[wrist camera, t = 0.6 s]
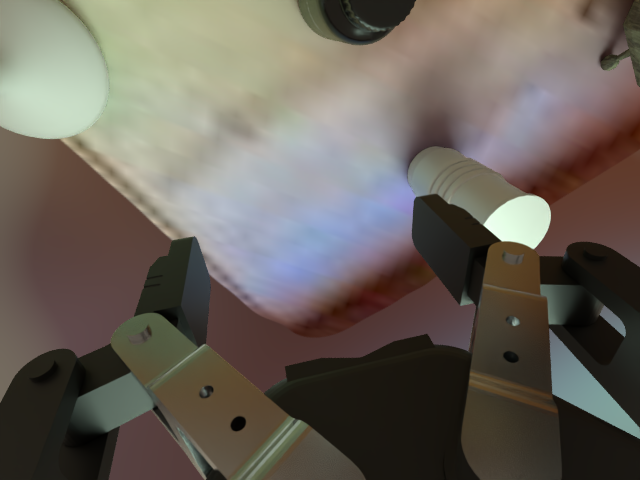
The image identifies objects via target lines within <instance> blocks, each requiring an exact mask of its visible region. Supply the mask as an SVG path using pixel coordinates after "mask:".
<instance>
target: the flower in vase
mask: <svg viewBox="0 0 640 480" xmlns="http://www.w3.org/2000/svg"><path fill="white" fill-rule="evenodd" d="M108 96H109V75H108V69H107V65H106V62H105V59H104V56H103V54H102V51H101V49H100V47H99V45H98V44H97V42H96V40H95V38H94V37H93V35H92V34H91V32H90V31H89V30H88V28H87V27H86V26H85V25H84V23H83V22H82V21H81V20H80V19H79V18H78V17H77V16H76V15H75V14H74V13H73V12H72V11H71V10H70V9H69V8H67V7H66V6H65V5H64V4H63V3H61V2H60V1H59V0H0V126H1V127H3V128H5V129H8V130H10V131H13V132H15V133H19V134H22V135H26V136H31V137H37V138H45V139H59V138H66V137H71V136H74V135H77V134H79V133H81V132H83V131H85V130H87V129H88V128H89V127H91V126H92V125H93V124H94V123H95V122H96V121H97V120H98V119H99V117H100V116H101V115H102V113H103V111H104V109H105V107H106V104H107V101H108Z"/></svg>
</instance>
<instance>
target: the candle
mask: <svg viewBox="0 0 640 480" xmlns="http://www.w3.org/2000/svg"><path fill="white" fill-rule="evenodd" d="M407 178H408V182H409V185H410V186H411V188H412V189H413V192H414V194H415V196H416V197H419V196H424V195H430V194H438V195H439V196H440V197H442V198H443V199H444V200H445V201H446V202H447V203H448V204H454V205H456V206H459V207H461V208H463V209H465V210H466V211H467V212H469V213H470V214H471V215H472V216H473V218H476V219H477V220H478V221H479V222H480V224H482V225H484V226H485V227H486V228H487V229H488V230H489V231H491V232H492V233H493V234H494V235H495V236H496V237H498V238H499V239H500V240H501V241H511V242H517V243H521V244H524V245H527V246H529V247H530V248H532V249H534V248H535V247H536V246H537V245H538V244H539V243H540V241H541V240H542V239H543V237H544V236H545V233H546V232H547V230H548V227H549V224H550V220H551V212H550V208H549V205H548V204H547V203H546V202H545V200H544V199H542V198H540V197H538V196H536V195H534V194H526V193H525V192H523V191H521V190H519V189H518V188H516V187H514V186H512V185H511V184H509V183H507V182H506V181H505V179H504V178H503V177H502V176H501V174H499V173H497V172H495V171H493V170H492V169H490V168H488V167H486V166H484V165H483V164H481V163H479V162H477V161H475V160H473V159H471V158H466V157H465V156H464V155H462V154H461V153H460V152H458V151H456V150H454V149H450V148H443V147H438V146H434V147H429V148H427V149H424V150H423V151H421V152H420V153H418V154H417V155H416V157H415V158H414V159H413V160H412V162H411V164H410V166H409V169H408V176H407Z"/></svg>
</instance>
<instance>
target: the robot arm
mask: <svg viewBox="0 0 640 480" xmlns="http://www.w3.org/2000/svg"><path fill="white" fill-rule="evenodd" d="M412 239H413V243H414V245H415V247H416V249H417V250H418V252H419V253H420V254H421V255H422V257H423V258H424V259H425V261H426V262H427V263H428V265H429V266H430V267H431V268H432V270H433V271H434V272H435V274H436V275H437V276H438V277H439V279H440V280H441V281H442V283H443V284H444V285H445V287H446V288H447V289H448V291H449V292H450V293H451V294H452V296H453V297H454V298H455V300H456V301H457V302H458V304H459V305H460V306H461V305H466V304H470V303H474V304H475V305H476V310H475V315H474V321H473V327H472V333H471V338H470V345H469V350H468V351H466V350H463V349H460V348H456V347H452V346H446V345H434V344H433V343H432V341H431V339H430V337H429V336H428V335H427V334H424V335H420V336H416V337H412V338H407V339H403V340H398V341H394V342H392V343H390V344H388V345H386V346H384V347H382V348H380V349H378V350H376V351H374V352H372V353H370V354H368V355H366V356H363V357H360V358H320V359H316V360H311V361H307V362H302V363H298V364H294V365H289V366H286V367H285V370H286V377H287V378H286V379H284V380H282V381H280V382H279V383H277V384H275V385H274V386H272V387H271V388H270V389H268V390H267V391H266V392H265V393H264V394H263V393H262V392H261V391H260V390H259V389H258V388H256V387H255V386H254V385H253V384H251V382H249V381H248V380H247V379H246V378H244V376H242V375H241V374H240V373H239V372H238V371H237V370H235V369H234V368H233V367H232V366H231V365H230V364H228V363H227V362H226V361H225V360H224V359H223V358H221V357H220V356H219V355H218V354H217V353H216V352H214V351H213V350H212V349H211V348H210V347H208V346H207V345H206V336H207V324H208V313H209V300H210V289H211V286H210V277H209V273H208V270H207V267H206V264H205V261H204V258H203V255H202V252H201V249H200V246H199V243H198V241H197V239H196V237H195V236H194V237H188V238H183V239H177V240H173V241H172V243H171V247H170V250H169V254H168V256H163V257H159V258H158V259H157V260H156V262H155V263H154V264H153V265H152V266H151V267H150V269H149V272H148V275H147V280H146V281H145V284H144V289H143V290H142V293H141V297H140V300H139V303H138V306H137V309H136V312H135V315H134V317H133V318H131V319H129V320H127V321H126V322H124V323H123V324H122V325H121V326H119V328H118V329H117V330H116V331H115V332H114V334H113V336H112V338H111V343H110V344H109V345H107V346H105V347H103V348H100V349H98V350H96V351H93V352H91V353H89V354H86V355H84V356H82V357H80V358H77V356H76V355H75V353H74V352H73V351H71V350H69V349H57V350H52V351H49V352H47V353H44V354H42V355H40V356H38V357H37V358H35V359H33V360H32V361H30V362H29V363H27V364H26V365H25V366H24V367H23V368H22V369H21V370H20V371H19V372H18V373H17V374H16V375H15V377H14V379H13V380H12V382H11V384H10V386H9V388H8V390H7V391H6V393H5V395H4V397H3V399H2V401H1V403H0V480H108V479H109V475H110V470H111V465H112V461H113V456H114V451H115V446H116V442H117V437H118V432H119V428H120V425H122V424H124V423H126V422H127V421H129V420H131V419H133V418H135V417H137V416H139V415H141V414H143V413H145V412H147V411H149V410H152V412H153V413H154V414H155V415H156V417H157V418H158V419H159V420H160V421H161V423H162V424H163V425H164V427H165V428H166V429H167V430H168V431H169V433H170V434H171V435H172V437H173V438H174V439H175V440H176V442H177V443H178V444H179V445H180V446H181V448H182V449H183V450H184V452H185V453H186V454H187V456H188V457H189V458H190V460H191V462H192V463H193V464H194V466H195V467H196V469H197V470H198V471H199V473H200V474H201V475H202V477H203V478H204V479H205V480H640V439H639V438H637V437H635V436H633V435H631V434H629V433H627V432H625V431H623V430H621V429H619V428H617V427H615V426H613V425H612V424H609V423H607V422H605V421H604V420H602V419H600V418H598V417H596V416H594V415H592V414H590V413H588V412H586V411H584V410H582V409H580V408H578V407H577V406H574V405H573V404H571V403H569V402H567V401H565V400H563V399H561V398H559V397H557V396H555V395H553V394H552V380H551V360H550V340H549V328H550V329H551V330H552V331H553V332H554V334H555V335H556V336H557V337H558V338H559V339H560V340H561V341H562V342H563V343H564V345H565V346H567V348H568V349H569V350H570V351H571V352H572V353H573V354H574V356H575V357H576V358H577V359H578V360H579V361H580V362H581V363H582V364H583V366H584V367H585V368H586V369H587V370H588V371H589V372H590V373H591V374H592V376H593V377H594V378H595V379H596V380H597V381H598V382H599V383H600V384H601V385H602V386H603V388H604V389H605V390H606V391H607V392H608V393H609V394H610V395H611V396H612V398H613V399H614V400H615V401H616V402H617V403H618V404H619V405H620V406H621V408H622V409H623V410H624V411H625V412H626V413H627V414H628V415H629V416H630V418H631V419H632V420H633V421H634V422H635V423H636V424H637V425H638V426H639V427H640V267H638V266H637V265H636V264H634V263H633V262H631V261H630V260H628V259H627V258H625V257H624V256H622V255H621V254H619V253H618V252H616V251H615V250H613V249H611V248H609V247H606V246H604V245H601V244H597V243H592V242H576V243H572V244H570V245H569V246H568V247H567V249H566V252H565V255H564V257H552V256H539V255H538V254H537V252H536V251H535V250H533V249H532V248H530V247H529V246H527V245H524V244H521V243H517V242H511V241H501V240H500V239H499V238H498V237H496V236H495V235H494V234H493V233H492V232H491V231H489V230H488V229H487V228H486V227H485V226H484V225H482V224H480V222H479V221H478V220H477V219H476V218H473V216H472V215H471V214H470V213H469V212H467V211H466V210H465V209H463V208H461V207H459V206H456V205H454V204H448V203H447V202H446V201H445V200H444V199H443V198H442V197H440V196H439V195H438V194H430V195H424V196H419V197H416V198H415V200H414V207H413V223H412ZM604 305H605V306H606V307H607V308H609V309H610V310H611V311H612V312H613V313H614V314H615V315H617V316H618V317H619V318H620V319H621V321H622V322H623V324H624V326H625V329H626V336H625V337H624V336H622V335H621V334H620V333H619V332H618V331H617V330H616V329H615V328H614V327H612V326H611V325H610V324H609V323H608V322H607V321H606V320H605V319H604V318H603V317H601V316H600V315H599V314H600V312H601V310H602V308H603V306H604Z"/></svg>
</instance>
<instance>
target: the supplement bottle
mask: <svg viewBox="0 0 640 480" xmlns="http://www.w3.org/2000/svg"><path fill="white" fill-rule="evenodd" d="M415 1H416V0H298V3H299V8H300V11H301V14H302V16H303V18H304V20H305V22H306V23H307V25H308V26H309V27H310V28H311V29H312V30H313V31H314V32H315V33H316V34H318V35H320V36H322V37H324V38H327V39H330V40H334V41H339V42H343V43H348V44H352V45H368V44H372V43H375V42H377V41H379V40H381V39H382V38H384V37H385V36H387V35H388V34H389V33H390V32H391V31H392V30H393V29H394V28H395V27H396V26H398V25H399V24H400V22H402V21H404V20H405V18H406V16H407V15H409V14H410V11H411V9H412V8H413V7H414V3H415Z"/></svg>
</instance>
